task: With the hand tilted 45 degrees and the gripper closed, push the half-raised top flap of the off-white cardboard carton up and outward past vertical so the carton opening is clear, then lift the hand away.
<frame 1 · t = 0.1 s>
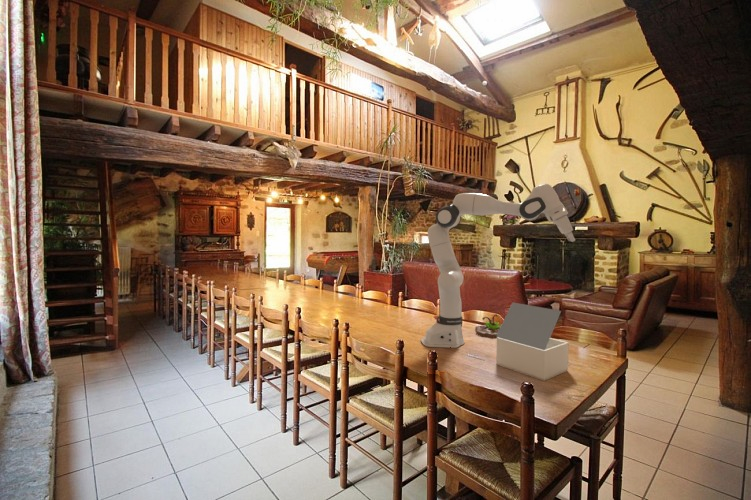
hand: (572, 241, 165), 54 cm above the table, tool tilted 30°, fingers open, 8 cm apart
succulent planter: (493, 333, 207), on the table
shipping carton: (531, 367, 154), on the table
carton flap: (527, 324, 151), point 19 cm above the table, hinge at 50.0°
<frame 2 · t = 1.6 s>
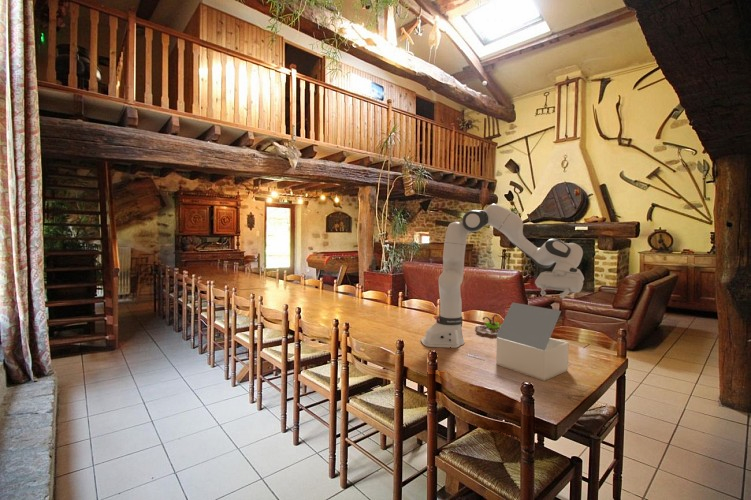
hand: (551, 295, 161), 30 cm above the table, tool tilted 45°, fingers open, 7 cm apart
nothing on the table moved.
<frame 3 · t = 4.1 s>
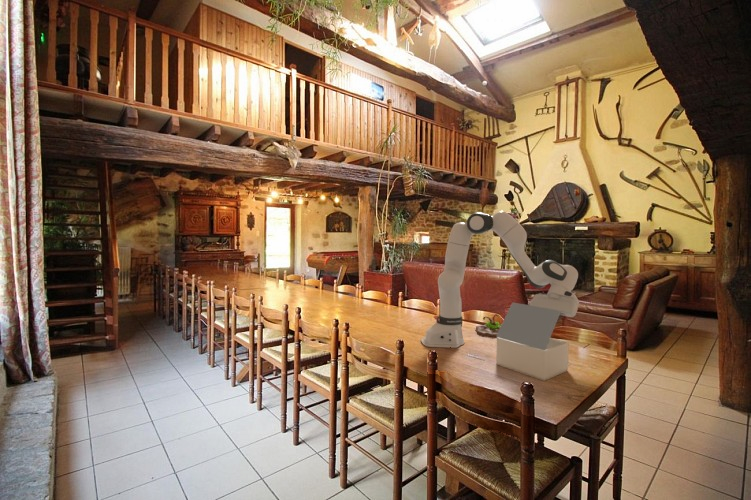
hand: (546, 319, 159), 19 cm above the table, tool tilted 45°, fingers closed
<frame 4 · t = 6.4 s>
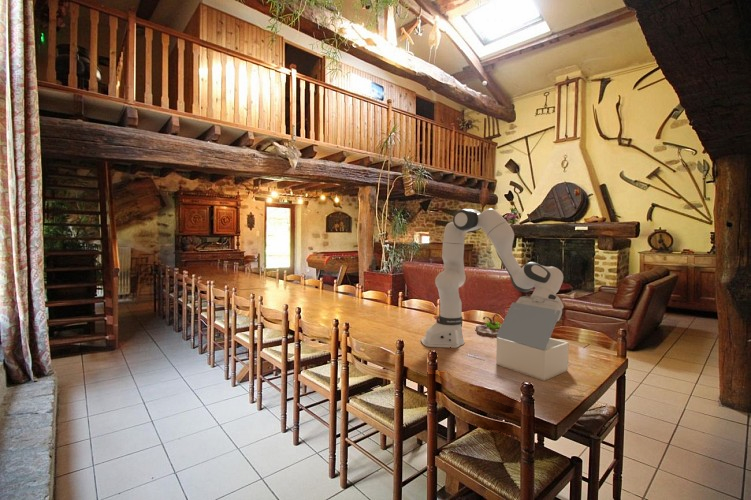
hand: (529, 324, 152), 19 cm above the table, tool tilted 45°, fingers closed, pressing on carton flap
carton flap: (527, 324, 151), point 19 cm above the table, hinge at 50.2°, touching gripper
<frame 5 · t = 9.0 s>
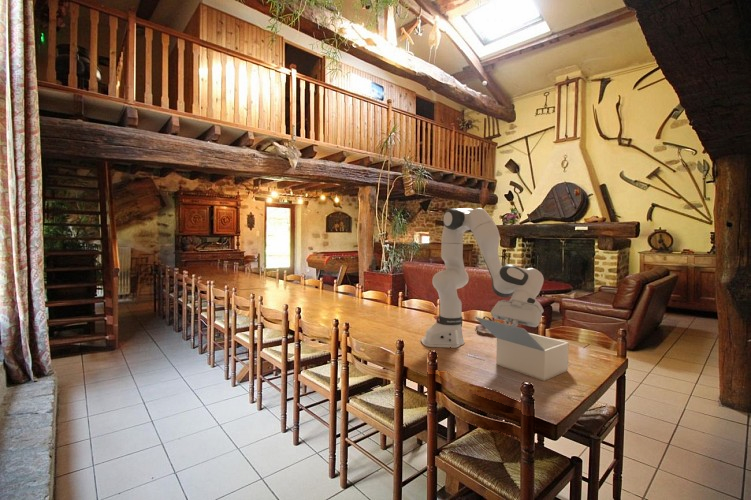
hand: (507, 330, 142), 19 cm above the table, tool tilted 45°, fingers closed, pressing on carton flap
carton flap: (508, 333, 144), point 18 cm above the table, hinge at 142.8°, touching gripper
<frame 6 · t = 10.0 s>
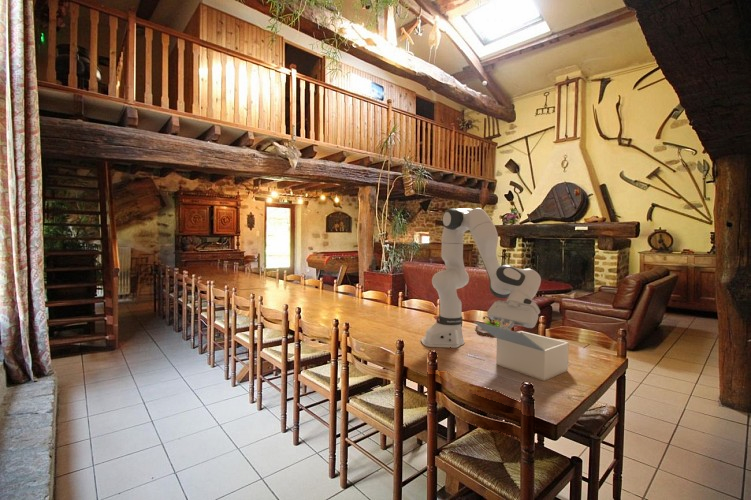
hand: (503, 330, 141), 19 cm above the table, tool tilted 45°, fingers closed, pressing on carton flap
carton flap: (508, 335, 143), point 17 cm above the table, hinge at 148.9°, touching gripper
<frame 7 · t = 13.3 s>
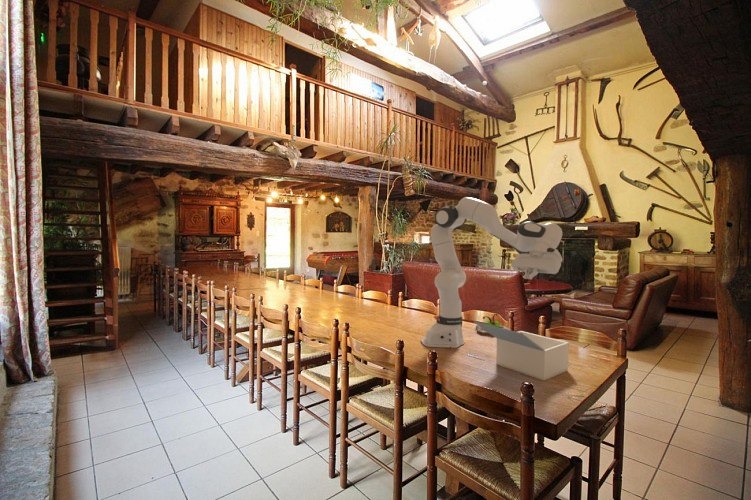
hand: (527, 278, 150), 39 cm above the table, tool tilted 45°, fingers closed
carton flap: (508, 335, 143), point 17 cm above the table, hinge at 149.0°
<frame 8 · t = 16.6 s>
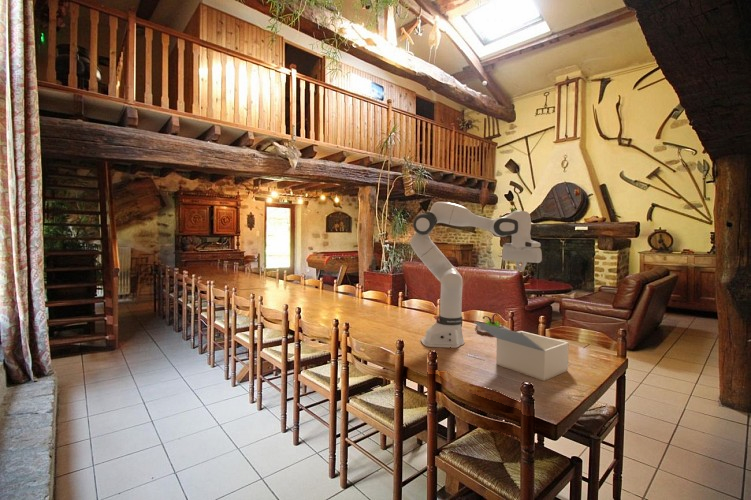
hand: (520, 270, 179), 39 cm above the table, tool pointing down, fingers closed
at the end: carton flap at +149° (first picture: +50°) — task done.
